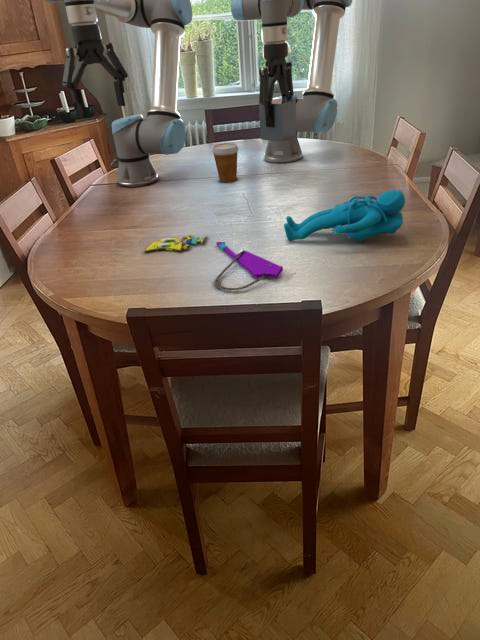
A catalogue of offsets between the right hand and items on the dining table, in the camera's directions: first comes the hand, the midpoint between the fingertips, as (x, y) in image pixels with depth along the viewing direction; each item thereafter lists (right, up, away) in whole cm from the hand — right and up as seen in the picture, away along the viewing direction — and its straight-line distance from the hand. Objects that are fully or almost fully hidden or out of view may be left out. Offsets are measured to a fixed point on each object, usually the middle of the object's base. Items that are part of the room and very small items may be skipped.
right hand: (277, 124), depth 155 cm
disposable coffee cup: (-17, -12, +22) cm, 30 cm away
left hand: (-52, -2, -16) cm, 55 cm away
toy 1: (-30, -43, -25) cm, 58 cm away
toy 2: (+14, -42, -30) cm, 54 cm away
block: (0, -4, +2) cm, 4 cm away
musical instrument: (-13, -51, -40) cm, 66 cm away
